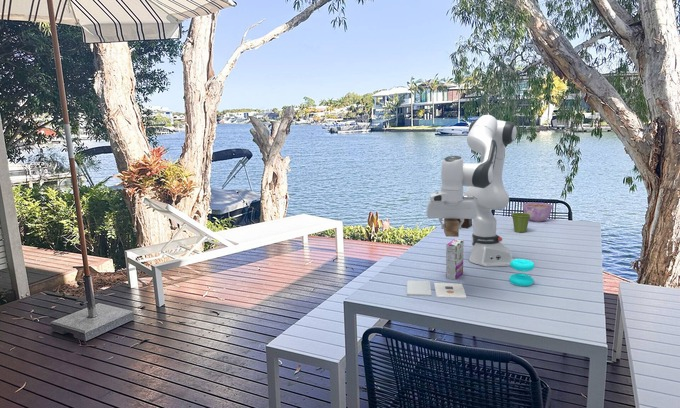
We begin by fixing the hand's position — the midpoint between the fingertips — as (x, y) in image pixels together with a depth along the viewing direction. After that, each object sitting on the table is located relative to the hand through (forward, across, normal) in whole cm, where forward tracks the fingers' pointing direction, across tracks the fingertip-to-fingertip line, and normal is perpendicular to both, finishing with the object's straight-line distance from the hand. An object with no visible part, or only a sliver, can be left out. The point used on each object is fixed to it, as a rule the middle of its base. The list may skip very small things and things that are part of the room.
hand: (451, 228), depth 184 cm
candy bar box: (+27, -4, -19) cm, 33 cm away
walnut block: (+2, 0, 0) cm, 2 cm away
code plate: (+27, 0, 0) cm, 27 cm away
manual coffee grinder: (+28, -19, -121) cm, 125 cm away
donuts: (+27, -32, -12) cm, 44 cm away
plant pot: (+27, -55, -110) cm, 126 cm away
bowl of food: (+28, -74, -144) cm, 164 cm away
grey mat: (+27, +13, 0) cm, 30 cm away
